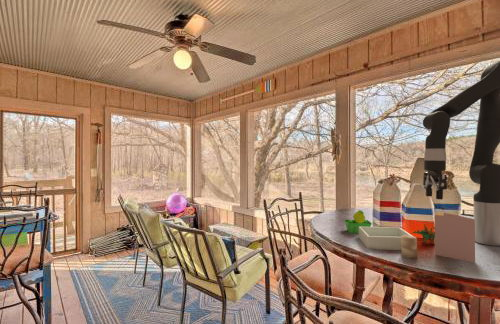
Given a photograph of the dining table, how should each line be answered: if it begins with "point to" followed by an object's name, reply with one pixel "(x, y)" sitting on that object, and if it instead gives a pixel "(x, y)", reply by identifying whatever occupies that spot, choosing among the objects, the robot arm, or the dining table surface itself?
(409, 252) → the maple cylinder
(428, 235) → the green branched piece
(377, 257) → the dining table surface
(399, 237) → the tray
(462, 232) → the greeting card
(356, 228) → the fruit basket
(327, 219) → the dining table surface
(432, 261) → the dining table surface
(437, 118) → the robot arm
